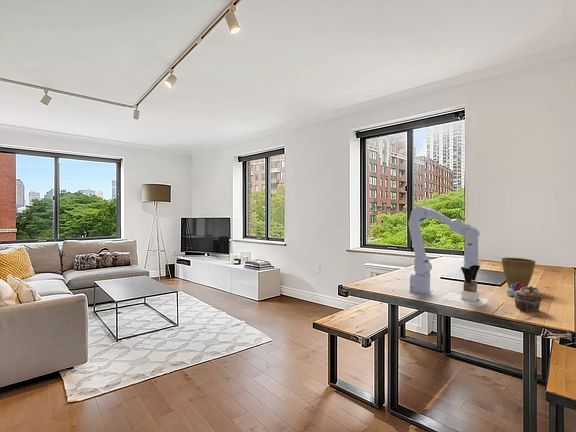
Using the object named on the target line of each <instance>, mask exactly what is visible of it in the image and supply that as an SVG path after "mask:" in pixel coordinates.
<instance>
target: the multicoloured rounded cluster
mask: <svg viewBox="0 0 576 432" xmlns="http://www.w3.org/2000/svg"><path fill="white" fill-rule="evenodd" d="M524 286H526V285H525V284H521V283H519V282H517V283H515V284H511V286H510V287H511V288H508V289H507V290H506V294H507V296H509V297H514V296H516V295H517V294H516V292H517V291H519V290H520V289H521V288H523V287H524Z"/></svg>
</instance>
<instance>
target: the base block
mask: <svg viewBox="0 0 576 432" xmlns="http://www.w3.org/2000/svg"><path fill="white" fill-rule="evenodd" d="M460 292H461V293H460V295H461V299H464V300H469V301H475V302H476V301H477V300H478V299H479V298H480V296H479V295H480V290H478V289H477V291H475V292H469V291H464V288H463V289H462V290H461V291H460Z"/></svg>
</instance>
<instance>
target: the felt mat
mask: <svg viewBox="0 0 576 432" xmlns="http://www.w3.org/2000/svg"><path fill="white" fill-rule="evenodd" d="M439 299H440V300H446V301H449V302H457V303H462V304H467V305H472V306H478V307H484V306H485V304H487V303H488V302H489V301H490V299H487V298H480V297H479V299H478V300H477V301H476V302H475V301H469V300H464V299H461V294H460V293H453V292H447V293H445V294H444V295H443V296H441V297H440V298H439Z"/></svg>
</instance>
